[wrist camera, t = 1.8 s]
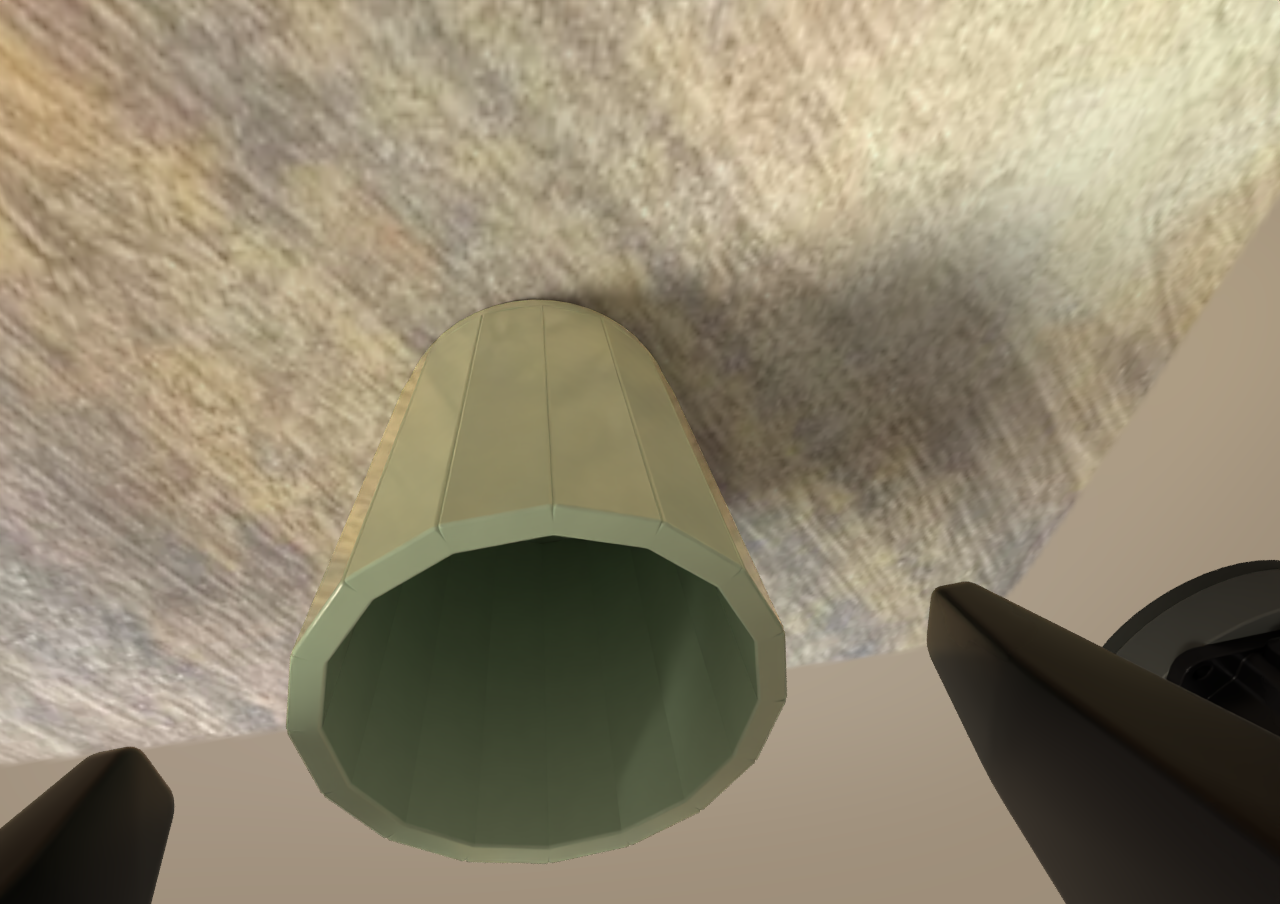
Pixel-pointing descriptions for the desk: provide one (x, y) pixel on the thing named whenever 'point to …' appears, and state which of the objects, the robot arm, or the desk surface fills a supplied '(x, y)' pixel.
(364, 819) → the cup
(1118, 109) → the desk surface
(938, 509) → the desk surface
